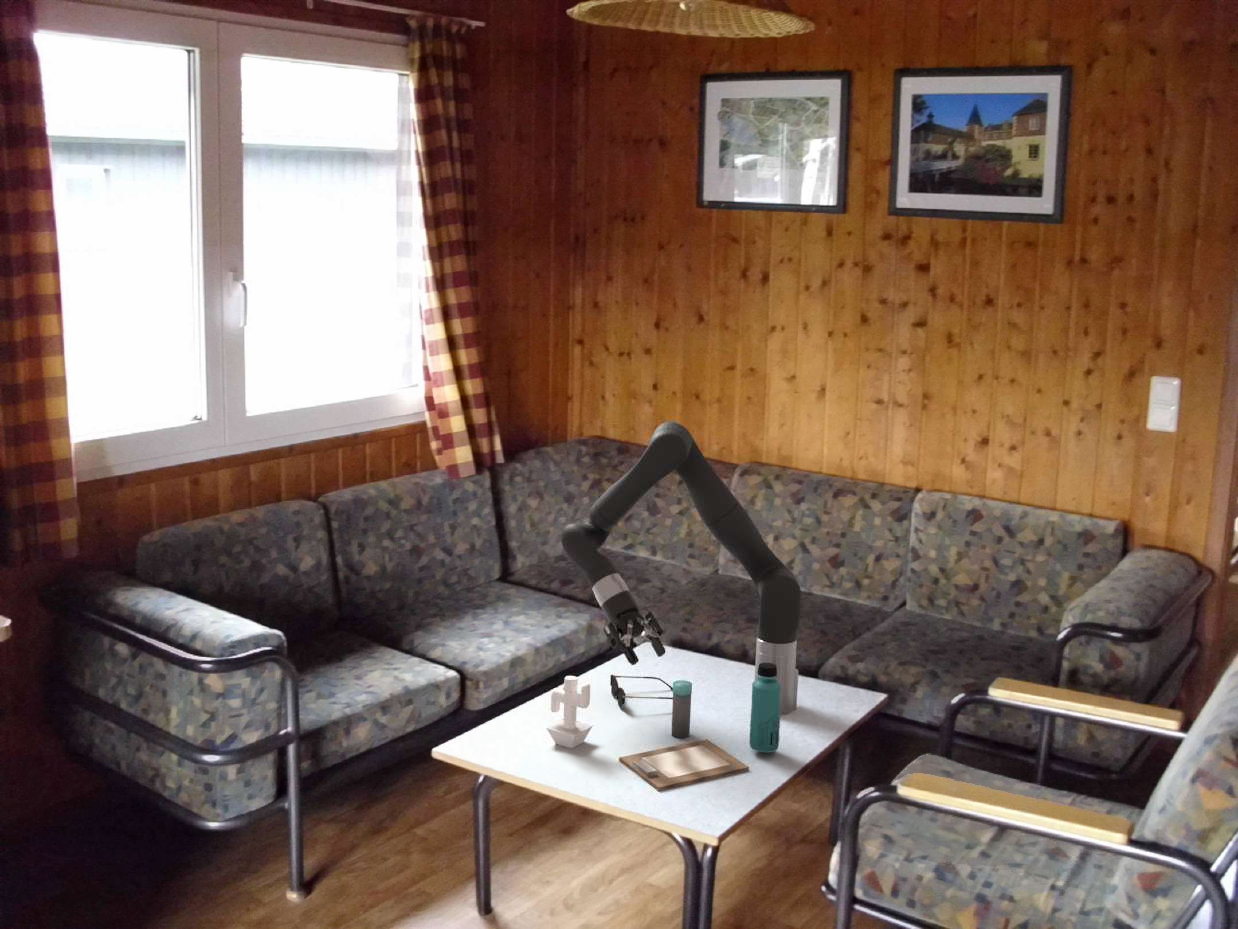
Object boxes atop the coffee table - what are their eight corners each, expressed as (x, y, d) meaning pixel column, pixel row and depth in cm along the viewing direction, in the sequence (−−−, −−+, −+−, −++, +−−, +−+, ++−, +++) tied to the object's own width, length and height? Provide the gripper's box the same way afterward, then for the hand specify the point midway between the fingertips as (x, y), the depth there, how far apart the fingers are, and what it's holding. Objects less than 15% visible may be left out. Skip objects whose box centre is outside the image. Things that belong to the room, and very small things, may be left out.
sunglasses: (608, 693, 322) (610, 673, 321) (672, 693, 326) (674, 673, 325) (621, 714, 309) (623, 694, 308) (688, 714, 313) (690, 694, 312)
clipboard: (706, 742, 294) (707, 734, 293) (748, 770, 280) (749, 762, 280) (619, 761, 283) (619, 753, 283) (658, 791, 269) (658, 782, 269)
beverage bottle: (770, 762, 285) (775, 672, 281) (742, 754, 288) (747, 665, 284) (784, 751, 290) (788, 663, 286) (756, 744, 294) (760, 657, 290)
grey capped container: (683, 730, 300) (685, 679, 298) (693, 736, 297) (695, 685, 294) (667, 733, 298) (669, 682, 296) (677, 740, 295) (679, 688, 292)
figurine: (561, 732, 297) (562, 667, 294) (596, 742, 292) (598, 677, 289) (542, 743, 291) (543, 677, 288) (577, 753, 286) (579, 686, 283)
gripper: (600, 595, 300) (635, 658, 294) (645, 584, 310) (680, 644, 304) (583, 612, 305) (617, 674, 299) (628, 600, 315) (662, 660, 309)
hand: (649, 659), depth 302 cm, fingers open, 8 cm apart
